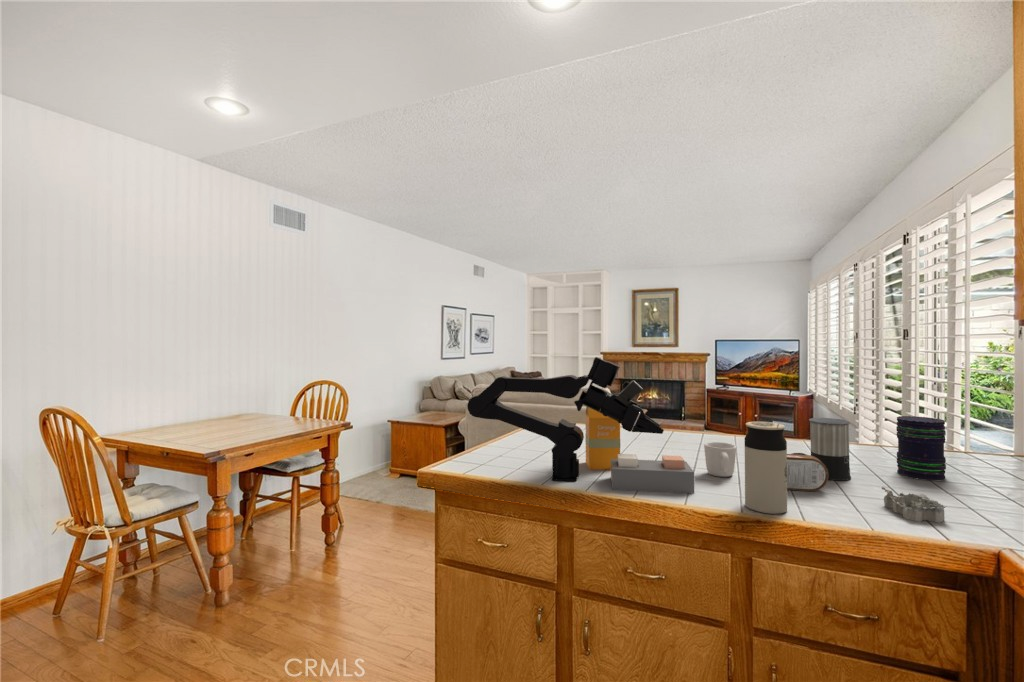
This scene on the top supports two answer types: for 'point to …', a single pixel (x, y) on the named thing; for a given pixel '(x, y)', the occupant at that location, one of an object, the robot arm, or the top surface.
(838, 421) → the milk frother
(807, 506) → the top surface
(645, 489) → the key console
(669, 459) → the terracotta key
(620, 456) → the cream key
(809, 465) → the tin
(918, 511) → the egg carton
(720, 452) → the cup
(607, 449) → the orange juice
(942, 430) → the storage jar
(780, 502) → the travel mug
